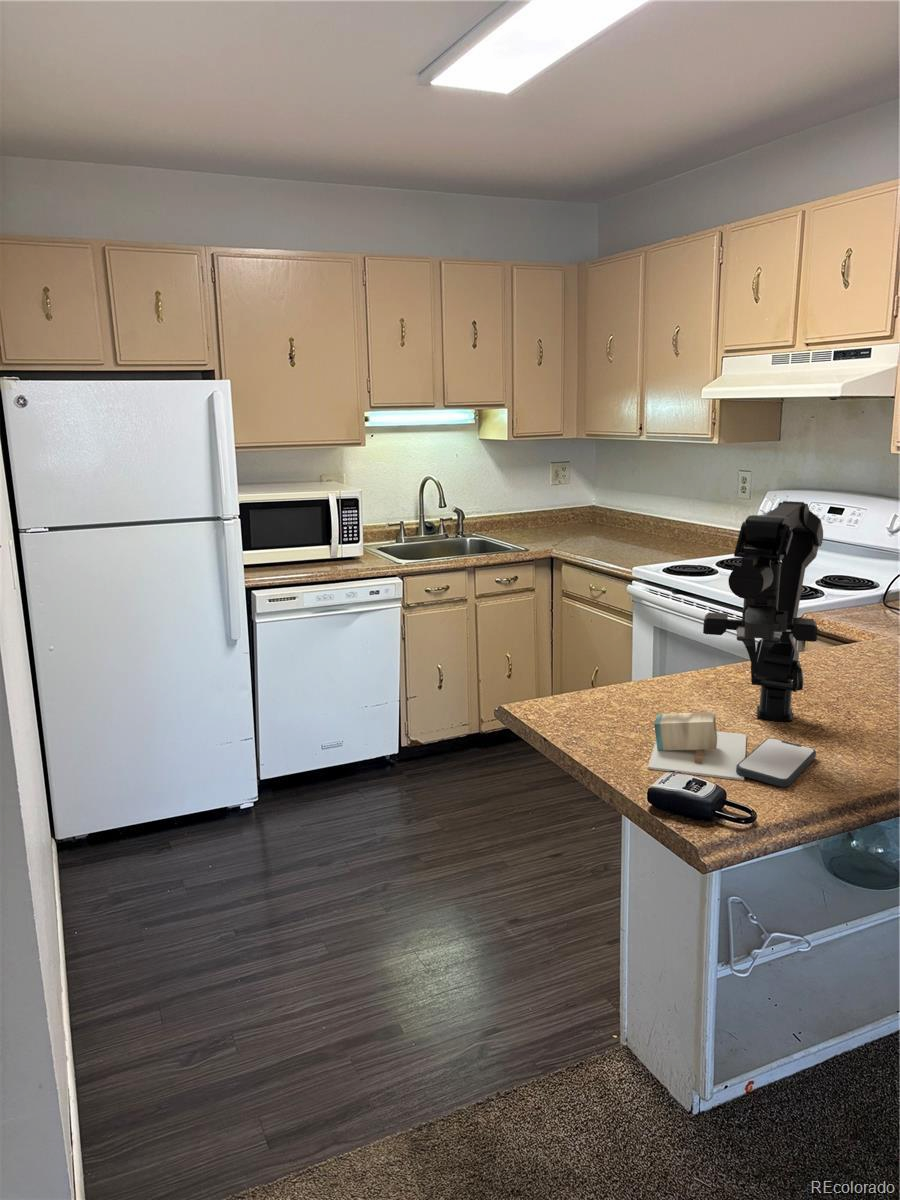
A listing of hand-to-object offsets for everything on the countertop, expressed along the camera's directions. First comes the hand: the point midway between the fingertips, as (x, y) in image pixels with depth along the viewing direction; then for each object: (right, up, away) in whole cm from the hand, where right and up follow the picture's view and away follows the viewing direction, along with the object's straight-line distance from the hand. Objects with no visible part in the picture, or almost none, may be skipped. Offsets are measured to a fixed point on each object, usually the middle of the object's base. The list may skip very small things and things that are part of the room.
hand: (756, 673), depth 154 cm
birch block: (-8, -10, -3) cm, 13 cm away
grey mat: (-11, -14, -2) cm, 18 cm away
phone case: (0, -15, -8) cm, 17 cm away
